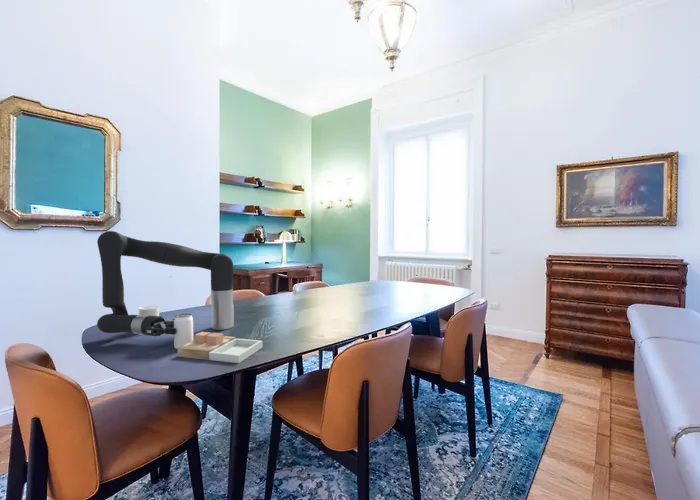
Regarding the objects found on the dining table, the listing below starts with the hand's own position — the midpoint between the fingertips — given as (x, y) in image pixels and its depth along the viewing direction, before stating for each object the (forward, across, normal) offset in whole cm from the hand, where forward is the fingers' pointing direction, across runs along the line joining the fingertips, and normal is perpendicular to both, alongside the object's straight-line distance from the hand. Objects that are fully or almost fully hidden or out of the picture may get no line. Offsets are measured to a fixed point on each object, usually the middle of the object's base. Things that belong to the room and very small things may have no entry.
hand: (184, 328), depth 127 cm
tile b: (+14, -1, +4) cm, 14 cm away
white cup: (-30, +15, +7) cm, 35 cm away
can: (0, 0, +7) cm, 7 cm away
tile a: (+9, -1, +4) cm, 10 cm away
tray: (+23, -1, +7) cm, 24 cm away
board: (+11, -1, +7) cm, 13 cm away
